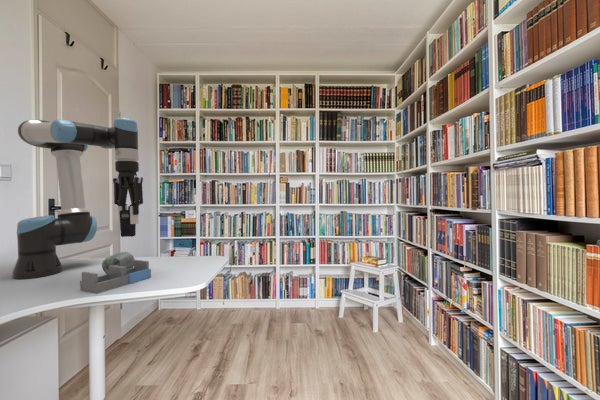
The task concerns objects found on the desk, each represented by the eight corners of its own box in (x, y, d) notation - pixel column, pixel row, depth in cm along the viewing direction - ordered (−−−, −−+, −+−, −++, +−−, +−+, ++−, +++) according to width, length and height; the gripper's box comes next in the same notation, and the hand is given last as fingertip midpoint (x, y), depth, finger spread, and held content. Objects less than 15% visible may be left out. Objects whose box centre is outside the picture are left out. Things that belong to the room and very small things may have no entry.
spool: (120, 269, 113) (113, 246, 116) (98, 281, 114) (92, 257, 117) (144, 269, 127) (137, 248, 129) (125, 279, 127) (118, 258, 130)
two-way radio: (118, 237, 110) (116, 196, 109) (125, 235, 114) (124, 196, 114) (133, 236, 109) (131, 196, 109) (139, 235, 114) (138, 195, 114)
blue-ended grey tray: (80, 289, 100) (79, 272, 100) (135, 274, 119) (134, 259, 118) (98, 293, 96) (97, 275, 96) (152, 277, 115) (151, 261, 114)
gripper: (101, 161, 111) (103, 223, 112) (134, 158, 104) (136, 225, 104) (120, 163, 118) (122, 221, 119) (153, 160, 111) (155, 223, 111)
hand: (129, 223), depth 112 cm, fingers closed on two-way radio, 5 cm apart
